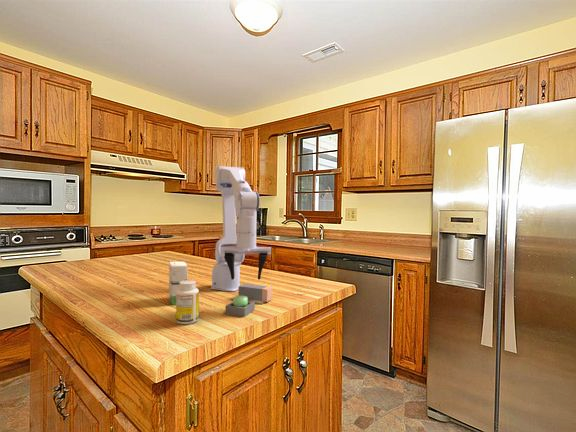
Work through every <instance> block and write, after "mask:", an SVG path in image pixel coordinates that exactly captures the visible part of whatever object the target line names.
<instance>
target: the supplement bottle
mask: <svg viewBox="0 0 576 432" xmlns="http://www.w3.org/2000/svg"><path fill="white" fill-rule="evenodd" d="M196 283H197V282H196V280H193V279H188V280H184V281H181V282H180V285H179V288H180V289H178V290H177V291H176V305H175V310H176V311H175V314H176V315H175V321H176V322H177V323H178V324H180V325H191V324H195V323H196V322H198V320H199V318H200V314H199V313H200V305H199V304H200V299H199V297H200V290H199V288H197V286H196V285H197V284H196Z"/></svg>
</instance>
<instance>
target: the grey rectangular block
mask: <svg viewBox="0 0 576 432" xmlns="http://www.w3.org/2000/svg"><path fill="white" fill-rule="evenodd" d="M237 296H246V297H248V299H249V300H257V301H264V302H265V303H268V302H269V301H271V300H272V299H273V286H267V285H260V284H253V283H251V284H250V283H243V284H240V286H239V287H238V295H237Z"/></svg>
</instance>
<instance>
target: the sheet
mask: <svg viewBox="0 0 576 432" xmlns="http://www.w3.org/2000/svg"><path fill="white" fill-rule="evenodd" d="M248 302H255V305H256V304H257V305H263V304H265V303H266V302H264V301H257V300H249V299H248Z"/></svg>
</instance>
